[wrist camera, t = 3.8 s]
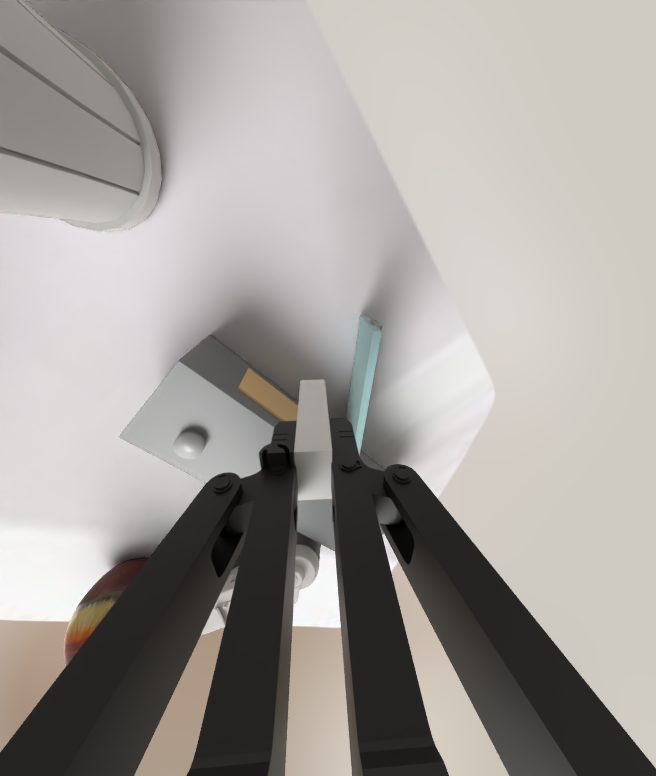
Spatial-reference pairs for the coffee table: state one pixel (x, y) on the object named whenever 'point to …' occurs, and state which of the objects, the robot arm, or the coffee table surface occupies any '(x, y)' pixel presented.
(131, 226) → the cup
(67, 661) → the vase
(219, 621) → the camera
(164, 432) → the long gray box
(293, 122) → the coffee table surface
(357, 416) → the side door
